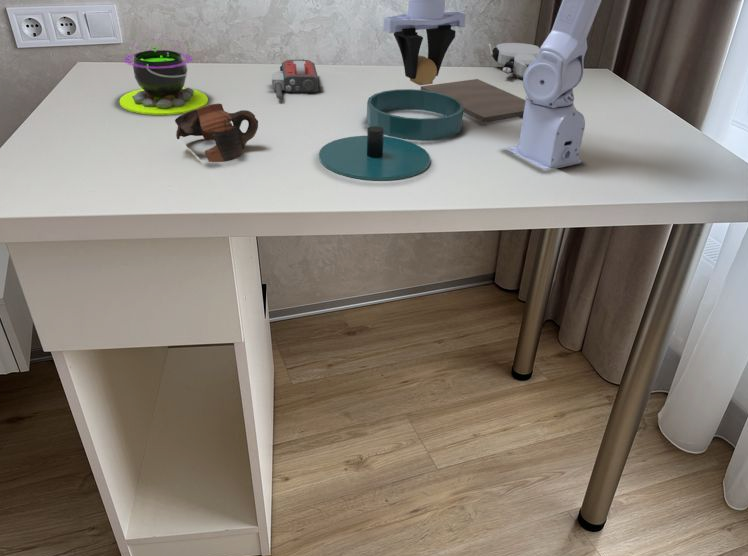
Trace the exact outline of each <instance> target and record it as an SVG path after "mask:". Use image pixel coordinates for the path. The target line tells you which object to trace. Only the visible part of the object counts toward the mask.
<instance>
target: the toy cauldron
mask: <svg viewBox="0 0 748 556" xmlns="http://www.w3.org/2000/svg"><path fill="white" fill-rule="evenodd" d="M155 32H156V33H159V31H155ZM151 33H154V31H151ZM160 33H163V31H162V32H161V31H160ZM145 34H146V32H142V36H145ZM165 36H166V35H162V36H160V38H159V36H156V39H155V38H153V36H150V38H152V39H151V41H153V40H161V41H163V40H164V41H167V39H164V38H162V37H165ZM142 41H143V42H144V39H141V42H142ZM146 41H149V36H146ZM169 41H170V42H174V43H176V41H175V40H172V39H170V40H169ZM136 43H137V41H135V42H132V43H131V47H132V48H133V49H137V50H140V51H138V52H135V53H130V54H128V55H127V56H124V57H123V58H122V61H123V63H124V64H127V65H128V66H131V67H132V68H133V74H134V79H135V81H136V83H137V84H138V87H139V88H140V89H136V90H133V91H130V92H128V93H126V94H123V95H122V96H121V97H119V98H120V99H119V105H120V107H121V108H122V109H124V110H126V111H128V112H131V113H136V114H142V115H149V116H171V115H180V114H181V115H182V114H185V113H187V112H189V111H191V110H194V109H198V108H200V107H204V106H207V105H208V102H209V99H208V96H207V94H205V93H203V92H201V91H199V90H196V89H193V88H190V87H185V83H186V79H187V75H188V64H189V63H191V62H193V60H194V58H193V57H192V56H191V55H190V54H187V53H185V52H184V53H183V52H180V51H179V52H178V51H173V50H175V49H178V48H179V47H181V43H180V42H179V41H177V44H178V45H177V46H176V47H172V48H170V49H169V48H168V49H157V47H156V46H152V49H149V50H145V49H143V48H138V47H135V44H136ZM182 57H184V58H185V60H184V59H183V58H182ZM132 58H133V61H132Z"/></svg>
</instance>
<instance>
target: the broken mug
mask: <svg viewBox="0 0 748 556" xmlns="http://www.w3.org/2000/svg"><path fill="white" fill-rule="evenodd" d="M243 121H247V123H248V126H247V129H246V131H244V132H243V131H242V130H241V125H242V123H243ZM174 122H175V124H176V125H177V129H176V132H175V133H176V134H175V136H176V140H180V138H181V137H182V138H186V137H190V136H193V137H201V136H202V137H203V140H205V141H214V142H215V145H214V146H213V147H210V148H209V149H206V150H204V155H205V156H206V159H207V161H208V162H209V163H222V162H226V161H229V160H231V161H232V160H234V159H237V158H239V157H240V156H242V153H243V149H244V148H245V147H246V144H247V143H248V142H249V141H251V140H252V139H253V138H254V137H256V134H257V131H258V129H259V120H258V119H257V118H256V115H255V114H254V113H253V112H252V111H250V110H247V109H243V110H239V111H236V112H228V111H225V109H224V107H223V104H222V103H210V104H207V105H205V106H204V107H200V108H198V109H194V110H191V111H189V112H187V113H182V114H181V115H179V116H178V117H176V118H175V119H174Z"/></svg>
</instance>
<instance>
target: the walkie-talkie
mask: <svg viewBox="0 0 748 556" xmlns="http://www.w3.org/2000/svg"><path fill="white" fill-rule="evenodd" d="M271 77H272V78H271V88H272V91H275V96H276V99H277V100H279V101H280V100H283V91H284V92H285V93H317V92H319V86H320V79H319V75H318V72H317V68H316V65H315V62H314V61H313V62H312V61H311V60H309V59H305V58H292V59H285V60H284V61H282V62H281V66H279V70H278V71H276V72H274V73H272V76H271Z"/></svg>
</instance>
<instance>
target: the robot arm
mask: <svg viewBox="0 0 748 556" xmlns="http://www.w3.org/2000/svg"><path fill="white" fill-rule="evenodd" d="M601 3H602V0H561V4H560V6H559V9H558V12H557V14H556V17H555V20H554V23H553V26H552V27H551V28H552V29H551V31H550V32H549V34H548V35H547V36H546V38H545V40H544V41H543V43H542V45H540V47H539V49H540V50H539V53H538V55H537V57H536V59H535V60H534V61H533V62H532V63H531V64H530V65H529V66H528V67H527V69H526V71H525V73H524V77H523V78H522V86H523V89H524V92H525V95H526V96H525V100H526V101H525V107H524V114H523V118H522V121H521V127H520V134H519V140H518V145H513V146H510V147H509V146H508V147H506V148H505V149H506V150H507V151H509V152H511V153H513V154H515V155H517V156H518V157H521V158H523V159H524V160H526V161H528V162H530V163H532V164H534V165H535V166H538V167H539V168H541V169H544V170H547V169H552V168H555V169H560V168H565V167H569V166H575V165H578V164H579V165H580V164H581V163H582V160H581V159H580V158H579V156H580V151H581V147H582V143H583V137H584V133H585V128H586V119H585V116H584V114H583V113H581V112H580V111H579V110H577V108H576V107H575V104H574V102H575V94H574V89H575V88H576V87H577V86H578V85H579V84H580V83H581V81H582V79H583V77H584V73H585V71H584V70H585V64H584V62H585V61H584V60H585V56H586V53H587V51H588V44H587V42H588V41H587V38H588V36H589V33H590V31H591V28H592V26H593V22H594V21H595V18H596V15H597V12H598V10H599V8H600V5H601ZM445 8H446V0H408V8H407V9H408V10H407V12H406V13H402V14H398V15H397V14H396V15H393V16H386V17H383V30H382V31H383V32H386V33H388V34H393V36H394V38H395V41H396V43H397V45H398V48H399V51H400V54H401V58H402V63H403V68H404V74H405V77H406V78H409V80H410V79H415V78H416V73H417V63H418V56H420V49H421V46H422V44H423V43H422V42H423V40H424V37H423V36H422V35H419V34H418V30H419V31H420V30H425V31H426V38H427V58H428V59H431V60H432V61H433V62H434V63H435V65H436V68H437V74H436V77H438V76H439V73H440V70H441V66H442V63H443V61H444V58H445V56H446V54H447V51H448V49H449V47H450V46H451V44H452V43H453V42H454V40H455V38H456V33H457V32H456V30H455V29H452V28H454V27H455V28H456V27H458V28H465V26H466V18H467V14H466V13H464V12H462V11H445V10H446V9H445Z"/></svg>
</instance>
